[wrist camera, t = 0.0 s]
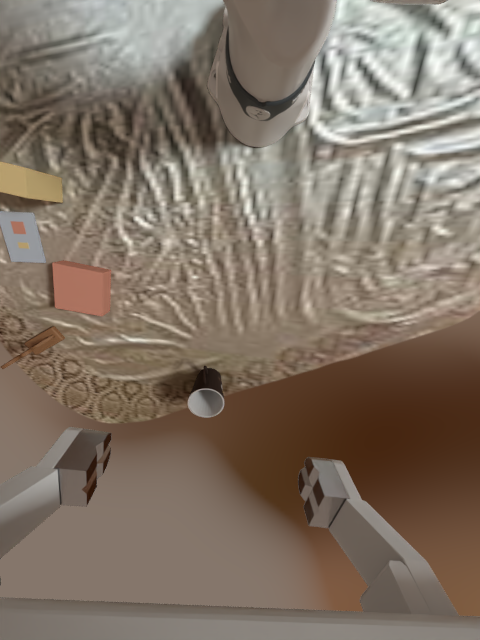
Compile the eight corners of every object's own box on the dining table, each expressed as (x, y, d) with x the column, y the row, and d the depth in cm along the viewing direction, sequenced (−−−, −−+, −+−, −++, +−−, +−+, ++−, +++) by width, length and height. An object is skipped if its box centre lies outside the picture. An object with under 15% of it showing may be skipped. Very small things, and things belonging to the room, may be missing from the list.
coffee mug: (217, 394, 68) (216, 421, 58) (189, 385, 66) (182, 411, 57) (234, 362, 64) (235, 385, 55) (204, 351, 62) (199, 373, 53)
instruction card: (-3, 211, 48) (-5, 210, 48) (33, 212, 49) (32, 212, 48) (12, 261, 52) (10, 261, 51) (46, 262, 52) (44, 262, 52)
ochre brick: (36, 171, 46) (-6, 160, 38) (61, 177, 47) (25, 167, 38) (38, 197, 48) (-2, 191, 39) (62, 202, 48) (27, 198, 40)
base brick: (64, 260, 53) (52, 262, 49) (111, 269, 54) (103, 273, 50) (66, 302, 56) (55, 307, 52) (110, 310, 57) (102, 316, 54)
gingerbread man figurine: (38, 353, 60) (-5, 382, 49) (26, 341, 59) (-21, 369, 48) (65, 338, 59) (27, 364, 48) (53, 325, 58) (12, 349, 47)
